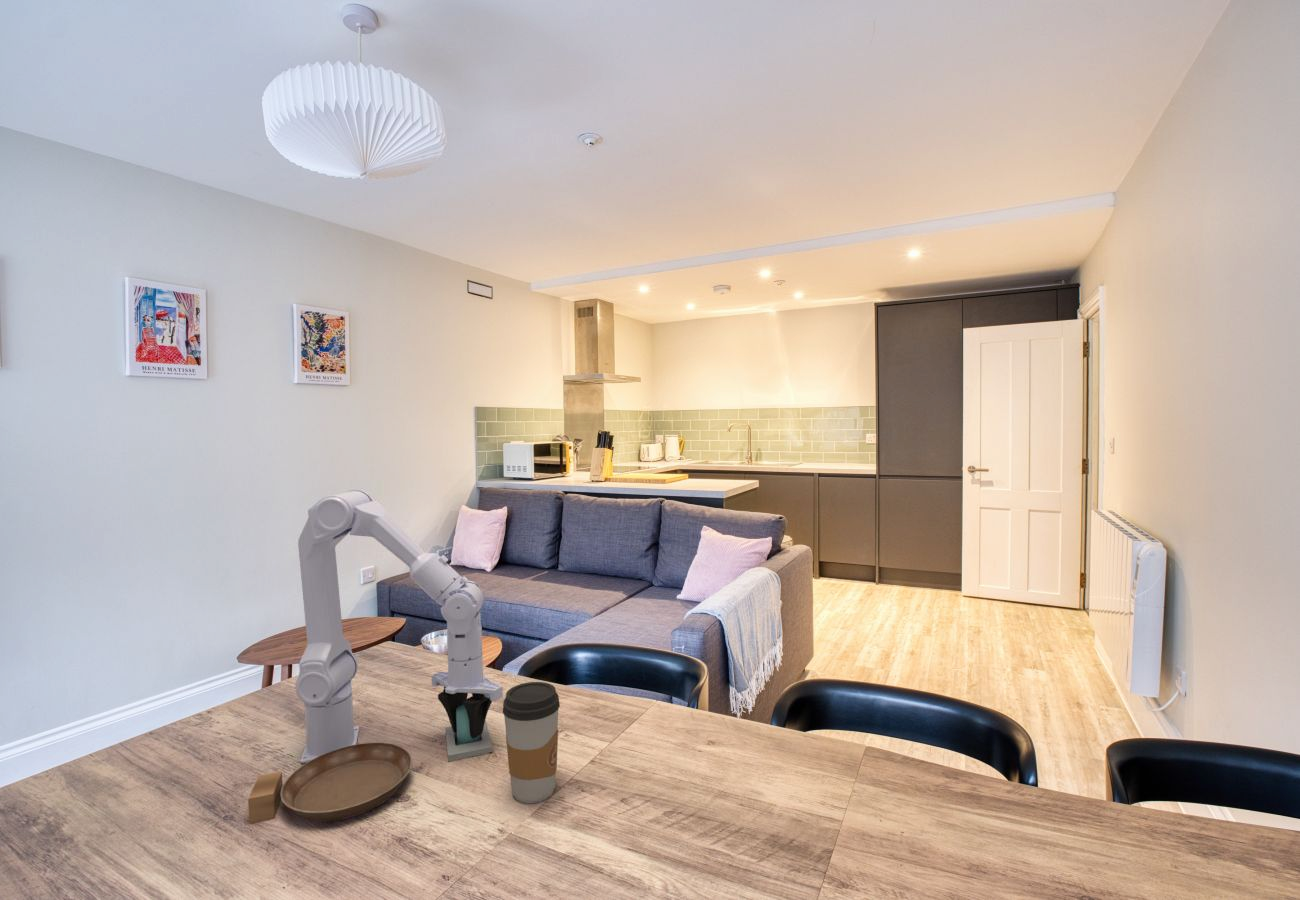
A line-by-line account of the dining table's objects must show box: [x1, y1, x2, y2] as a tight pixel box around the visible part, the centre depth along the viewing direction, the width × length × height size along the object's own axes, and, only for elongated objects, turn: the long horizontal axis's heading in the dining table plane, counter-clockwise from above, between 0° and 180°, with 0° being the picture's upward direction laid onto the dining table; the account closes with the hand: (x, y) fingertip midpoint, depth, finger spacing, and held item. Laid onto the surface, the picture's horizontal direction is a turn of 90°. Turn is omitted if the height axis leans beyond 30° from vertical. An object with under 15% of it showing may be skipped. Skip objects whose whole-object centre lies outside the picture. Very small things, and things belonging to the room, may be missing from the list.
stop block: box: [247, 770, 284, 824], centre depth 88 cm, size 6×3×4 cm, turn 21°
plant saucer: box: [281, 741, 413, 822], centre depth 92 cm, size 18×18×3 cm
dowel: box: [456, 705, 480, 745], centre depth 105 cm, size 4×4×6 cm
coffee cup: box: [502, 681, 561, 804], centre depth 90 cm, size 8×8×15 cm
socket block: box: [445, 719, 493, 762], centre depth 105 cm, size 10×7×1 cm
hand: (467, 732), depth 105 cm, fingers closed on dowel, 4 cm apart
